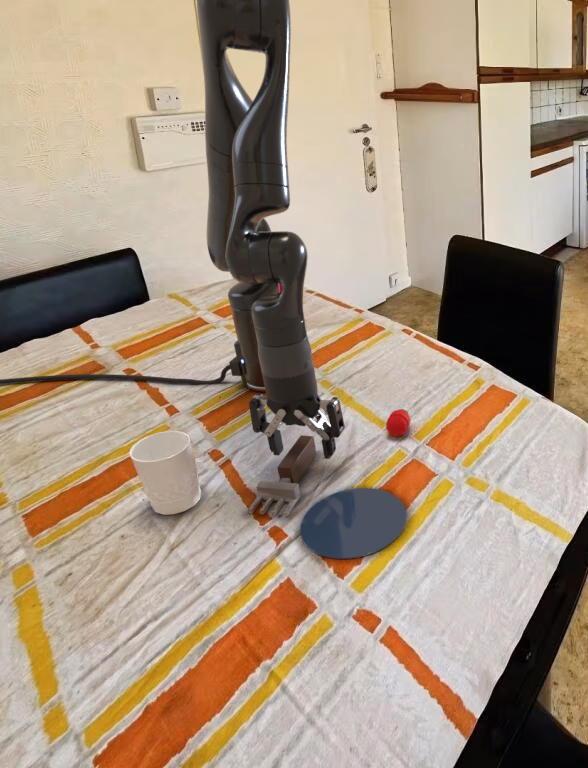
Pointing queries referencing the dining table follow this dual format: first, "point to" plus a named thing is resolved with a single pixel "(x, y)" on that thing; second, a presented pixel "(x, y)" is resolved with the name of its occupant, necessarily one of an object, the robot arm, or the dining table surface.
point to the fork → (286, 478)
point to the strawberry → (398, 422)
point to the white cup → (167, 471)
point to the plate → (353, 523)
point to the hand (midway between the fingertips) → (303, 454)
